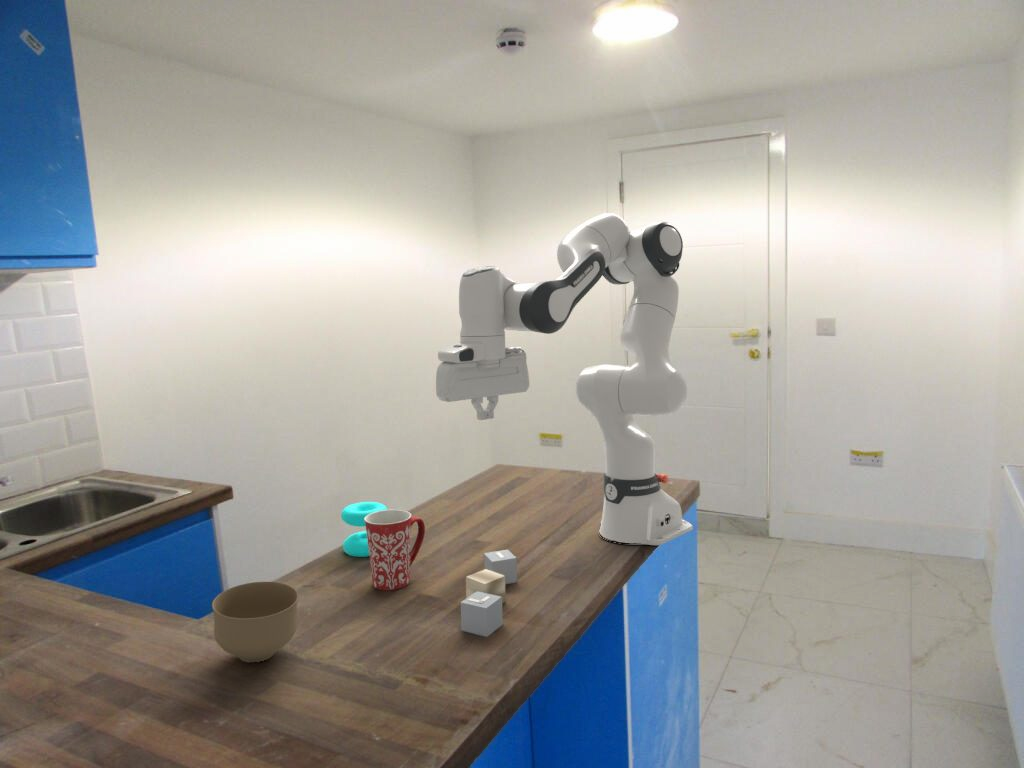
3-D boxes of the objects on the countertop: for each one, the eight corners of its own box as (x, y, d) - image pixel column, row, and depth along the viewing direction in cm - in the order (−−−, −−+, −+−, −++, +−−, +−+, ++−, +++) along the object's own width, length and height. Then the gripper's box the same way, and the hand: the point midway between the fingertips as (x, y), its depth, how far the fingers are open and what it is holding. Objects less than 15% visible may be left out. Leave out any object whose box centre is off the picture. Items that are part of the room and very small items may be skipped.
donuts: (395, 502, 161) (371, 515, 152) (397, 545, 162) (373, 561, 153) (357, 498, 165) (331, 511, 155) (360, 541, 166) (333, 555, 157)
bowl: (253, 686, 104) (248, 620, 103) (198, 664, 111) (193, 602, 110) (318, 649, 115) (315, 589, 114) (265, 631, 122) (261, 574, 120)
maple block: (486, 594, 135) (485, 568, 134) (505, 602, 131) (504, 575, 131) (466, 603, 131) (465, 576, 130) (485, 611, 128) (484, 584, 127)
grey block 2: (508, 573, 145) (507, 548, 144) (517, 582, 140) (516, 557, 139) (484, 577, 143) (483, 552, 142) (492, 586, 138) (492, 561, 138)
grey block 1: (477, 619, 125) (476, 590, 124) (502, 625, 122) (501, 596, 121) (461, 631, 120) (460, 601, 120) (487, 637, 118) (486, 607, 117)
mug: (382, 596, 134) (379, 526, 133) (359, 583, 141) (355, 516, 140) (438, 578, 143) (436, 512, 141) (413, 566, 149) (410, 502, 148)
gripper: (516, 345, 151) (518, 410, 153) (430, 352, 139) (433, 423, 141) (534, 347, 146) (536, 414, 148) (447, 354, 134) (450, 428, 136)
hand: (485, 419), depth 144 cm, fingers closed
